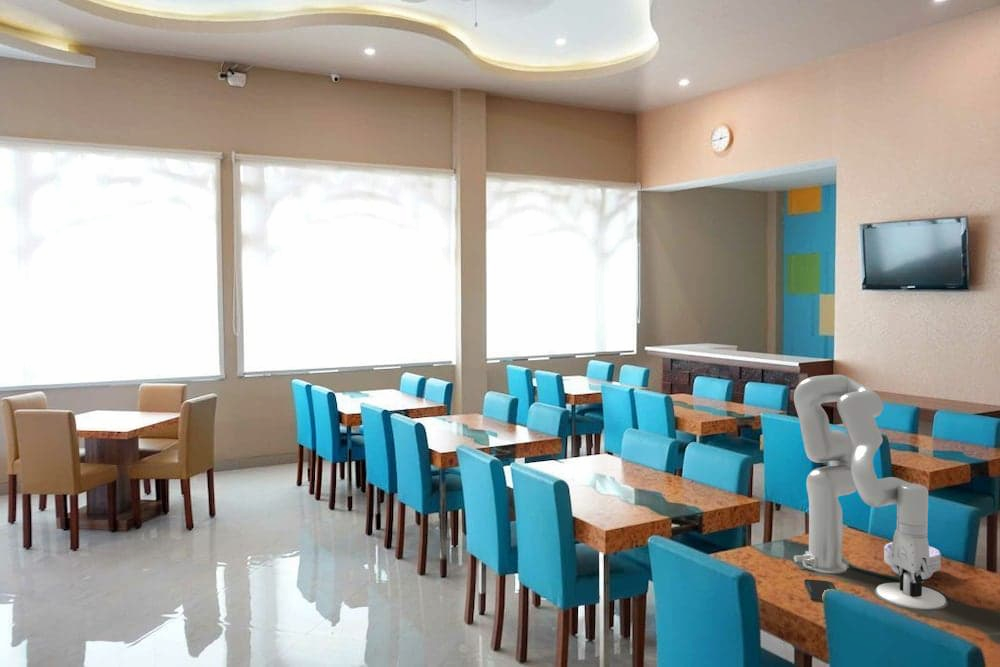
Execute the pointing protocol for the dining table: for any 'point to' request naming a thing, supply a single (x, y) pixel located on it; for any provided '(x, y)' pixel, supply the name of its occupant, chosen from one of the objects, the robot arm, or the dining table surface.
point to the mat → (911, 608)
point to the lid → (903, 598)
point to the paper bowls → (933, 567)
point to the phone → (817, 588)
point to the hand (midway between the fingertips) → (910, 592)
